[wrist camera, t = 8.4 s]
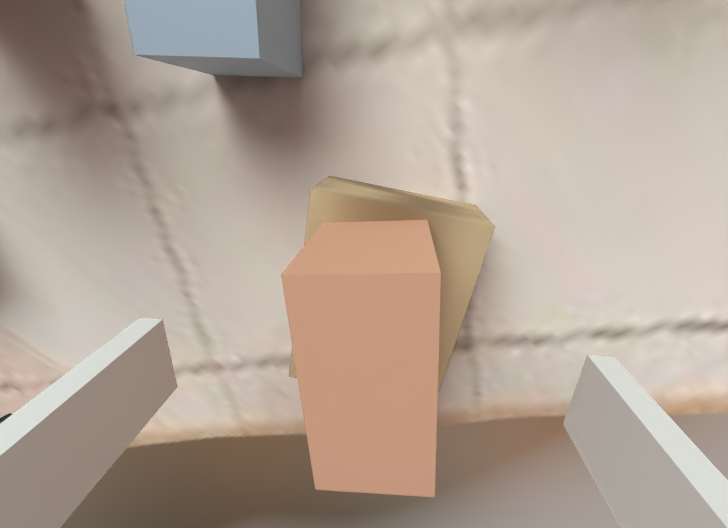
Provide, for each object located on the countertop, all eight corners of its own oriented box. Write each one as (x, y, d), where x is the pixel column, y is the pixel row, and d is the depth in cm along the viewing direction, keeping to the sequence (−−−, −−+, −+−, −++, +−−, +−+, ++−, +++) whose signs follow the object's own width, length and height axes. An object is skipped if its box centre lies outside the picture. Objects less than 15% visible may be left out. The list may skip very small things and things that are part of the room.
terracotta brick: (425, 389, 16) (434, 497, 11) (339, 386, 16) (315, 489, 12) (427, 219, 13) (440, 272, 8) (323, 222, 13) (280, 274, 9)
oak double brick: (309, 330, 20) (288, 376, 16) (330, 175, 17) (310, 189, 13) (427, 354, 20) (433, 407, 16) (474, 203, 16) (494, 226, 13)
